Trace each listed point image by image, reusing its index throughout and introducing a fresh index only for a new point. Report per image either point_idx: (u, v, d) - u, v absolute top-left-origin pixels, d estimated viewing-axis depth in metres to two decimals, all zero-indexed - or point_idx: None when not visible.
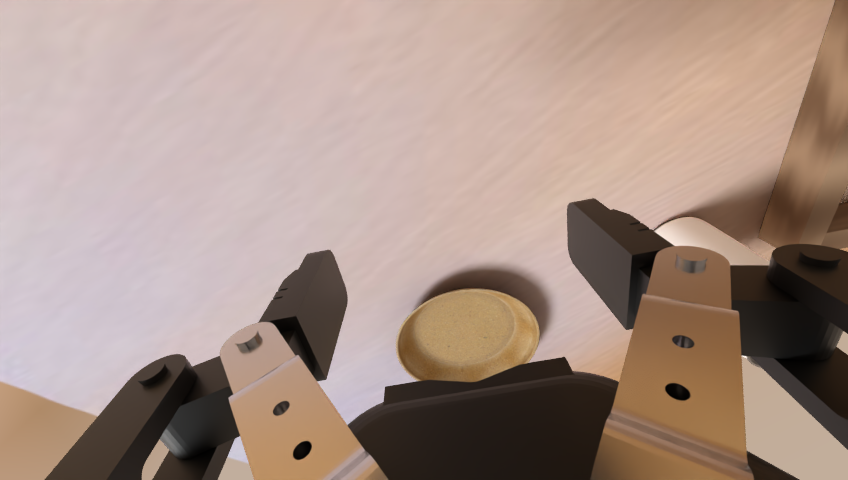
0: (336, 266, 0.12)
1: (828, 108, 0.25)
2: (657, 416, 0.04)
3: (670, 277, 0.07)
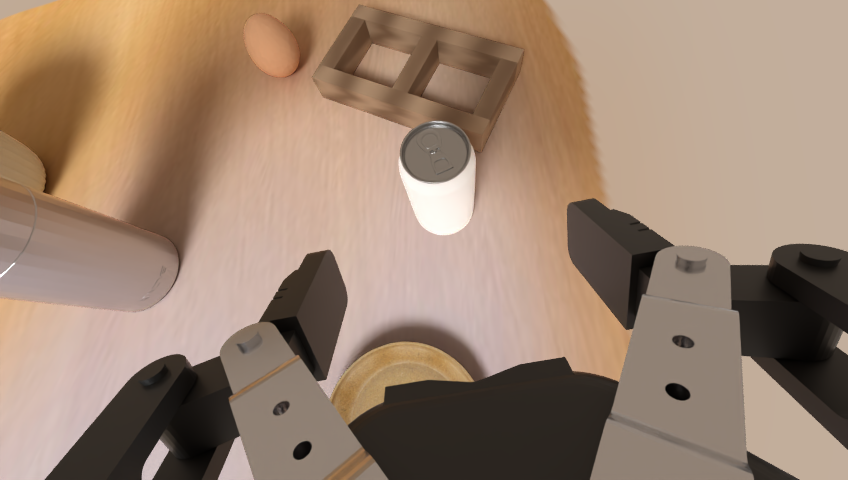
0: (336, 266, 0.12)
1: (385, 109, 0.41)
2: (657, 416, 0.04)
3: (670, 277, 0.07)
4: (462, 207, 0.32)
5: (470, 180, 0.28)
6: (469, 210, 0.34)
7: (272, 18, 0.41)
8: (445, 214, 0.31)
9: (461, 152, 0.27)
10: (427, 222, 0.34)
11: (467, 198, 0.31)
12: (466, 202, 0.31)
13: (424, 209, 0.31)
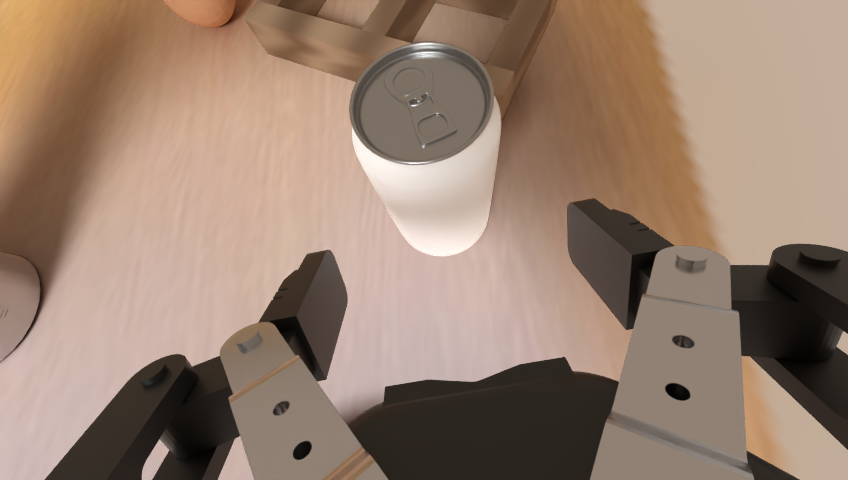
0: (336, 266, 0.12)
1: (352, 64, 0.27)
2: (657, 416, 0.04)
3: (670, 277, 0.07)
4: (474, 212, 0.18)
5: (491, 160, 0.14)
6: (484, 217, 0.20)
7: None
8: (442, 225, 0.18)
9: (473, 101, 0.13)
10: (413, 237, 0.21)
11: (483, 196, 0.17)
12: (480, 203, 0.17)
13: (404, 217, 0.17)
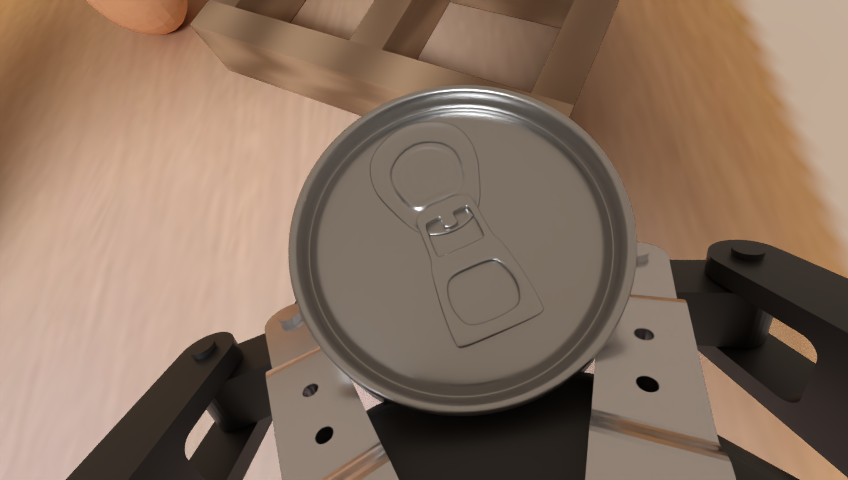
0: None
1: (337, 88, 0.20)
2: (634, 411, 0.04)
3: None
4: None
5: None
6: None
7: None
8: None
9: (578, 232, 0.06)
10: None
11: None
12: None
13: None
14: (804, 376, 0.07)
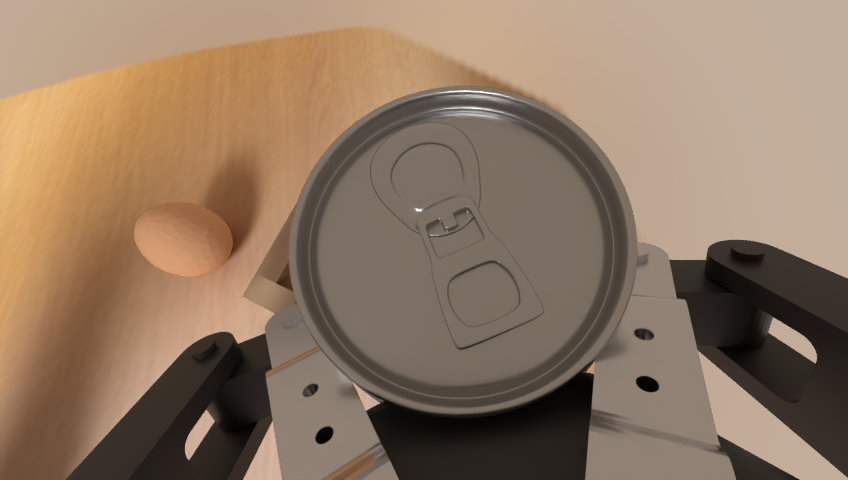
0: None
1: None
2: (634, 411, 0.04)
3: None
4: None
5: None
6: None
7: (178, 215, 0.26)
8: None
9: (578, 234, 0.06)
10: None
11: None
12: None
13: None
14: (804, 376, 0.07)
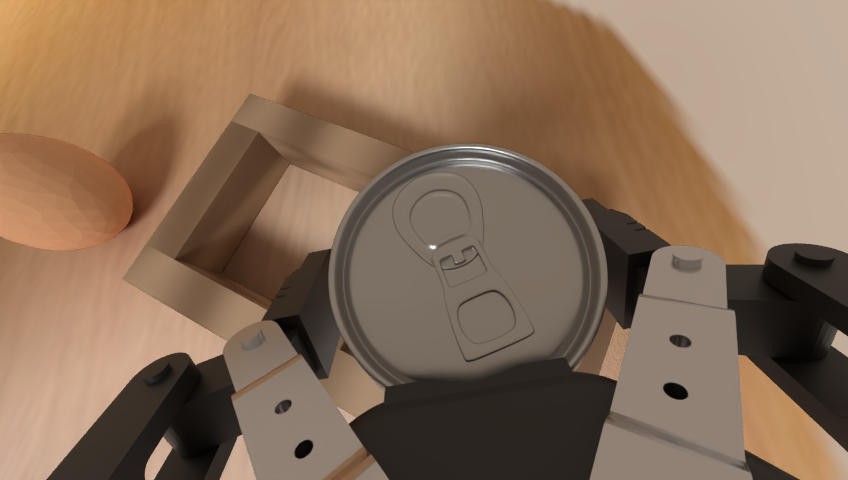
0: None
1: None
2: (655, 415, 0.04)
3: (666, 277, 0.07)
4: None
5: None
6: None
7: (15, 149, 0.17)
8: None
9: (562, 268, 0.07)
10: None
11: None
12: None
13: None
14: None
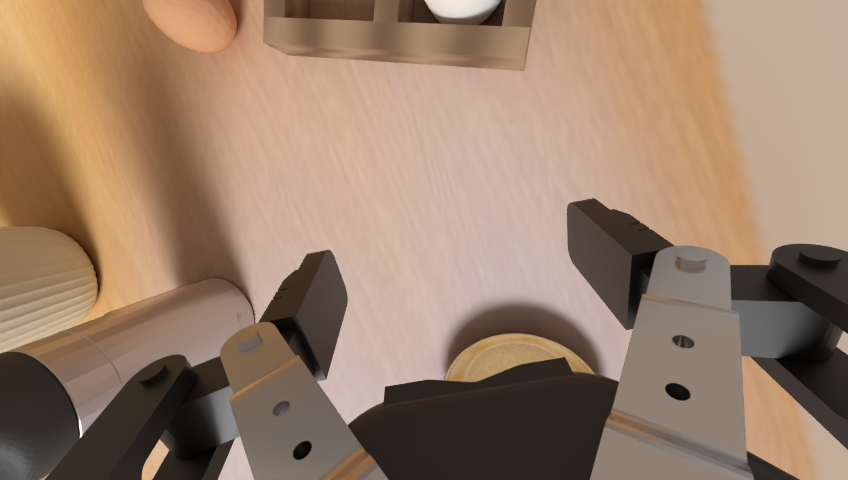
0: (336, 266, 0.12)
1: (375, 54, 0.29)
2: (657, 416, 0.04)
3: (670, 277, 0.07)
4: None
5: None
6: None
7: None
8: None
9: None
10: (450, 13, 0.26)
11: None
12: None
13: None
14: None
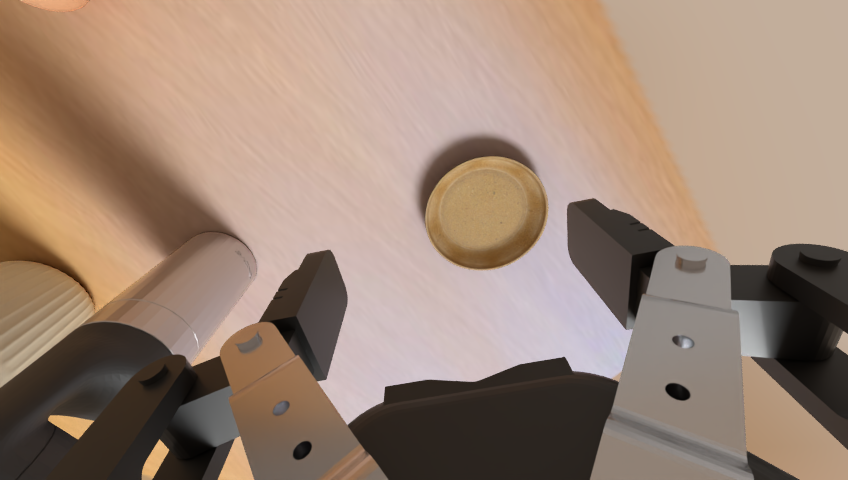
0: (336, 266, 0.12)
1: None
2: (657, 416, 0.04)
3: (670, 277, 0.07)
4: None
5: None
6: None
7: None
8: None
9: None
10: None
11: None
12: None
13: None
14: None
